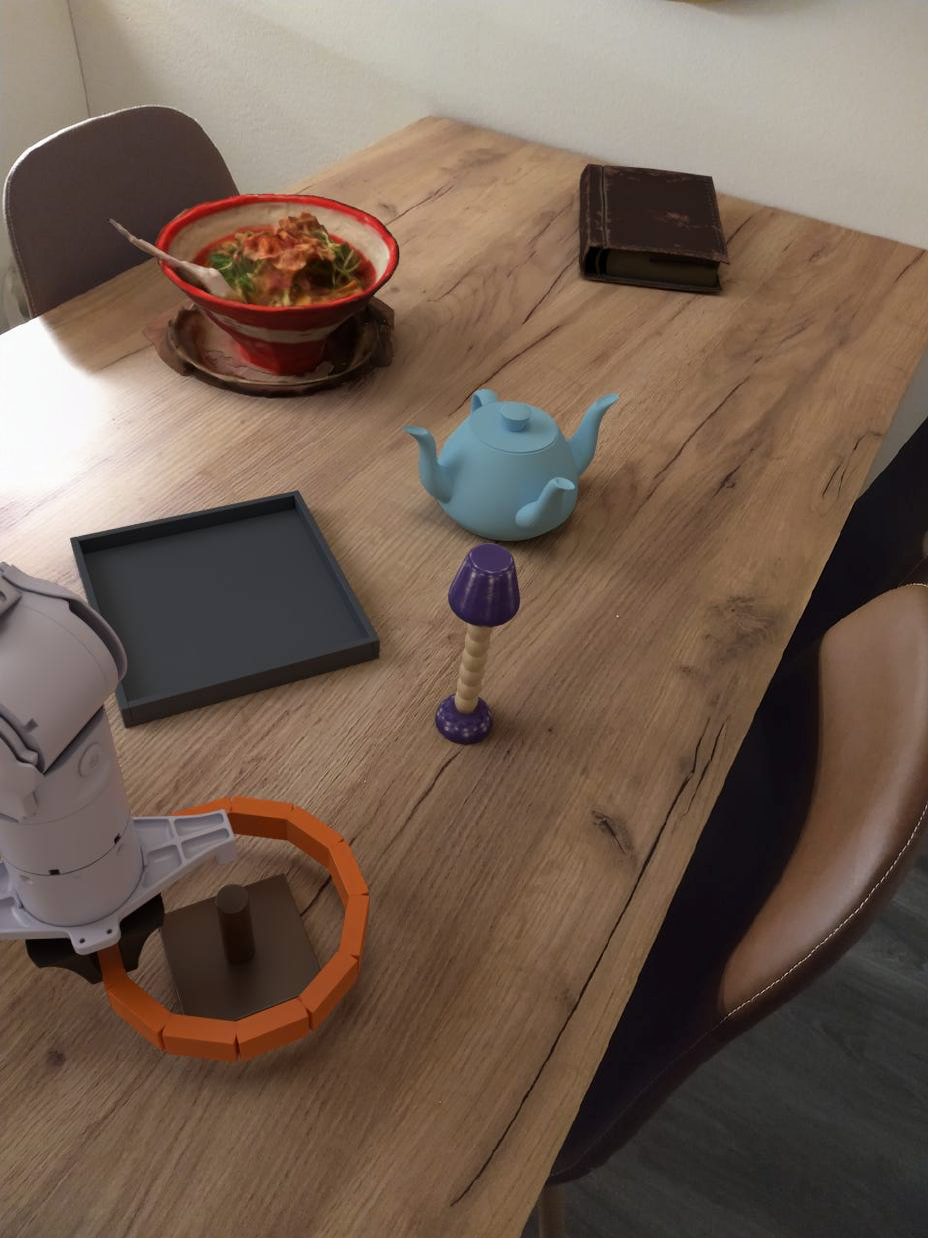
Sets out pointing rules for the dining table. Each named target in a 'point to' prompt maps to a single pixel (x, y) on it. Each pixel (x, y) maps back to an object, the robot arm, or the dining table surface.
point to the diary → (650, 228)
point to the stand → (239, 951)
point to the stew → (275, 291)
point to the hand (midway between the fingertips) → (111, 960)
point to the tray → (221, 604)
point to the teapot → (508, 467)
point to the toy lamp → (477, 636)
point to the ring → (285, 1018)
